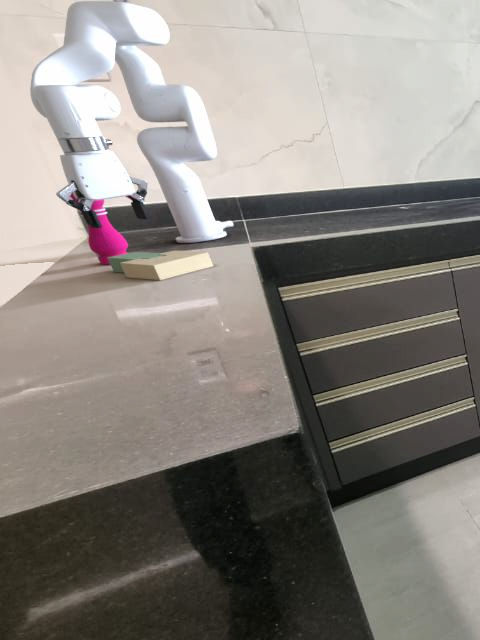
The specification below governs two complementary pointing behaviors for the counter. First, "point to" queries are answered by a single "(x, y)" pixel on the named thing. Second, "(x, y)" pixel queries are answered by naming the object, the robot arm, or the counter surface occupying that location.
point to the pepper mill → (104, 235)
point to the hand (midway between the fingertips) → (120, 223)
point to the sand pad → (167, 265)
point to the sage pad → (119, 259)
